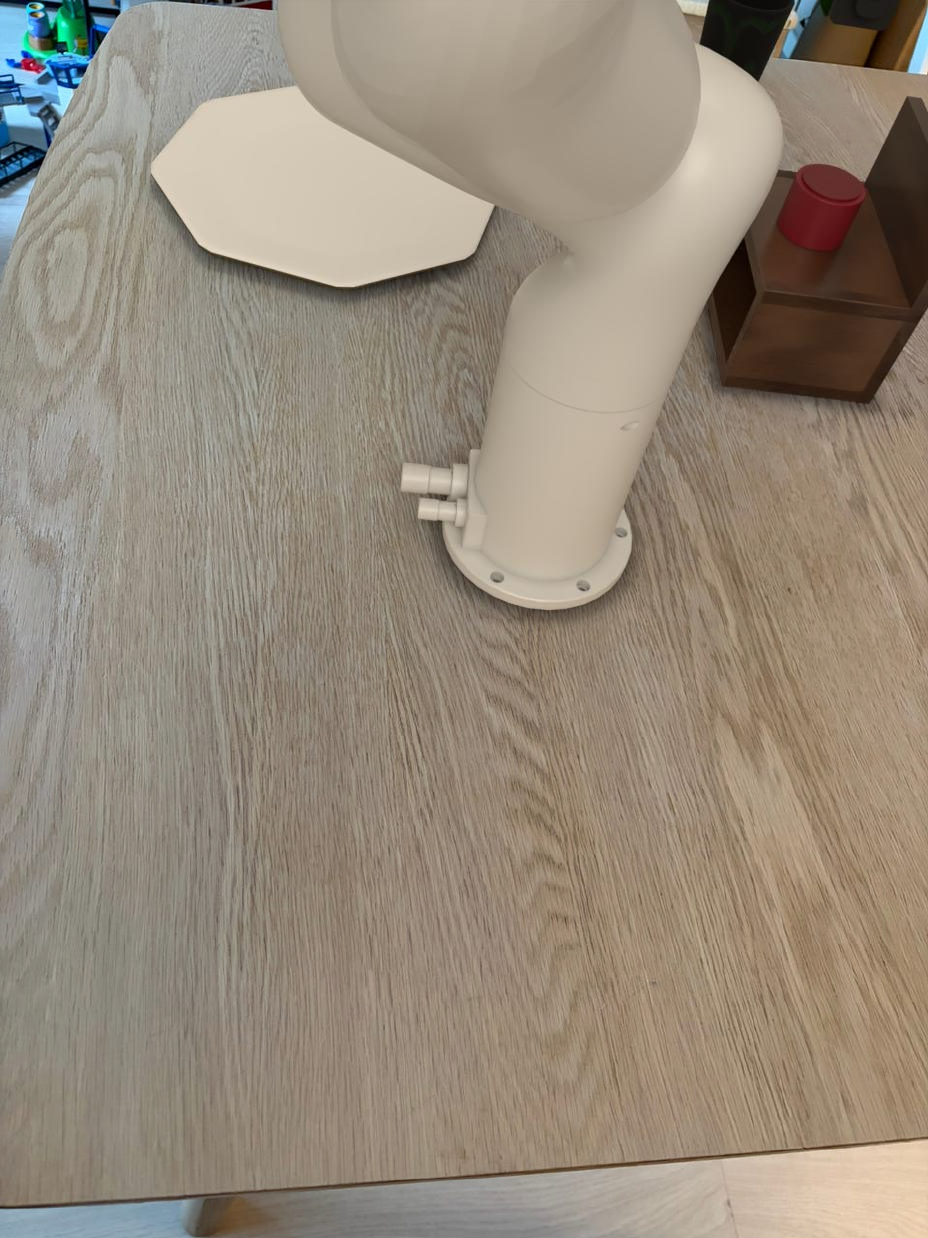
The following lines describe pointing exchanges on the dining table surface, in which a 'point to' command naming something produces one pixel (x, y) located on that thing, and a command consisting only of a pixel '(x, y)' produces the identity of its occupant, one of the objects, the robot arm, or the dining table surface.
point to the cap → (820, 207)
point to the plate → (310, 195)
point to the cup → (745, 30)
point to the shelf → (831, 284)
